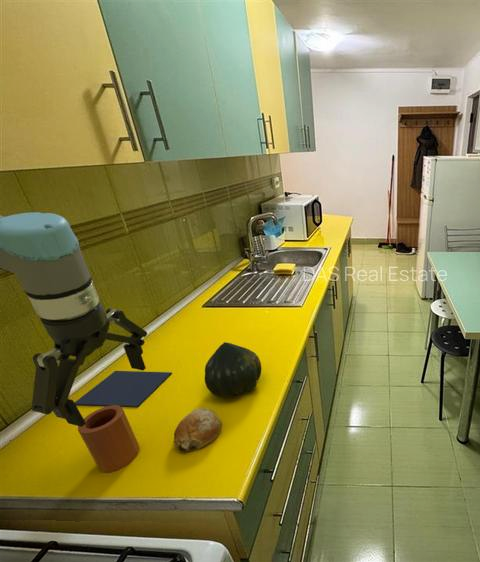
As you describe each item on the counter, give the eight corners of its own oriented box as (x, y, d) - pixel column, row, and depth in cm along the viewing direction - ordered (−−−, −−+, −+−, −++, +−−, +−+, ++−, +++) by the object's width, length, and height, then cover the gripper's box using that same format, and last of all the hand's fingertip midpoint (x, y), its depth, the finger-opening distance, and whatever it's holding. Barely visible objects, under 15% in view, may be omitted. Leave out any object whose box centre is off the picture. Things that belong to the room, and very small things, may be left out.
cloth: (73, 405, 84) (72, 403, 84) (115, 371, 97) (115, 370, 97) (138, 407, 83) (137, 406, 83) (172, 373, 96) (171, 372, 96)
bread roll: (227, 444, 76) (233, 413, 76) (185, 462, 67) (192, 427, 67) (203, 428, 81) (209, 398, 81) (162, 442, 72) (169, 409, 72)
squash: (245, 396, 79) (250, 338, 84) (188, 399, 79) (197, 341, 84) (265, 394, 93) (268, 345, 97) (217, 397, 93) (222, 347, 97)
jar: (90, 471, 66) (67, 432, 62) (118, 442, 73) (100, 404, 69) (122, 473, 66) (101, 433, 61) (147, 443, 73) (131, 405, 68)
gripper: (-1, 368, 39) (63, 459, 50) (151, 276, 60) (173, 353, 71) (-53, 356, 39) (22, 448, 50) (117, 269, 61) (143, 347, 72)
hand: (111, 393), depth 61 cm, fingers open, 13 cm apart
